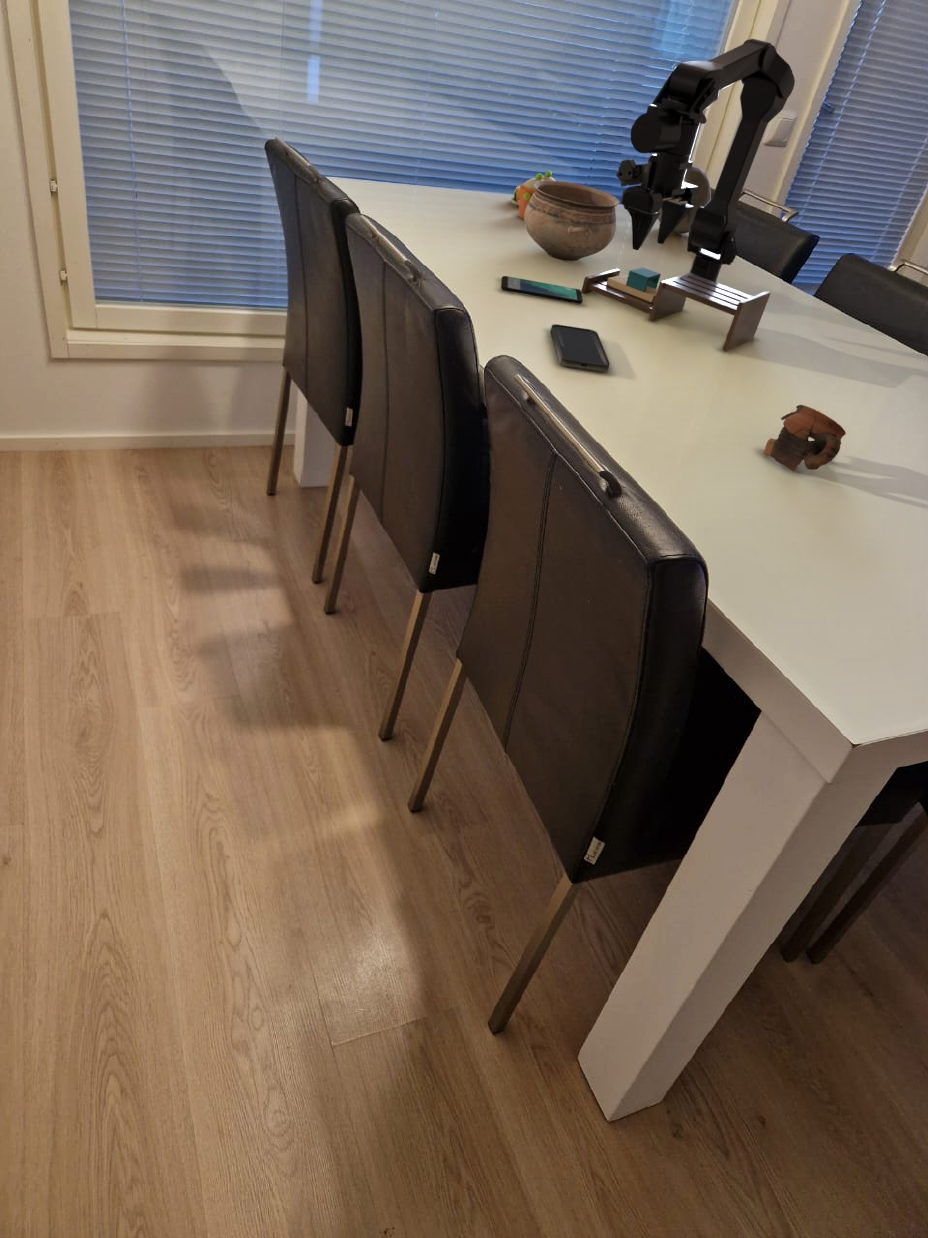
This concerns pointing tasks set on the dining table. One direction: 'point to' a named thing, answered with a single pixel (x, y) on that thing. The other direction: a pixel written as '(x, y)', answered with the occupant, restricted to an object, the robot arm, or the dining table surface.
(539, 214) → the cooking pot
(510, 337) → the dining table surface
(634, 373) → the dining table surface
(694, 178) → the cantaloupe
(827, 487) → the dining table surface
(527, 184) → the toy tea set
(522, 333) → the dining table surface
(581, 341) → the phone
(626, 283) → the wall mail holder
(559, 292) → the smartphone
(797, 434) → the pottery mug
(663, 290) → the shoe rack
